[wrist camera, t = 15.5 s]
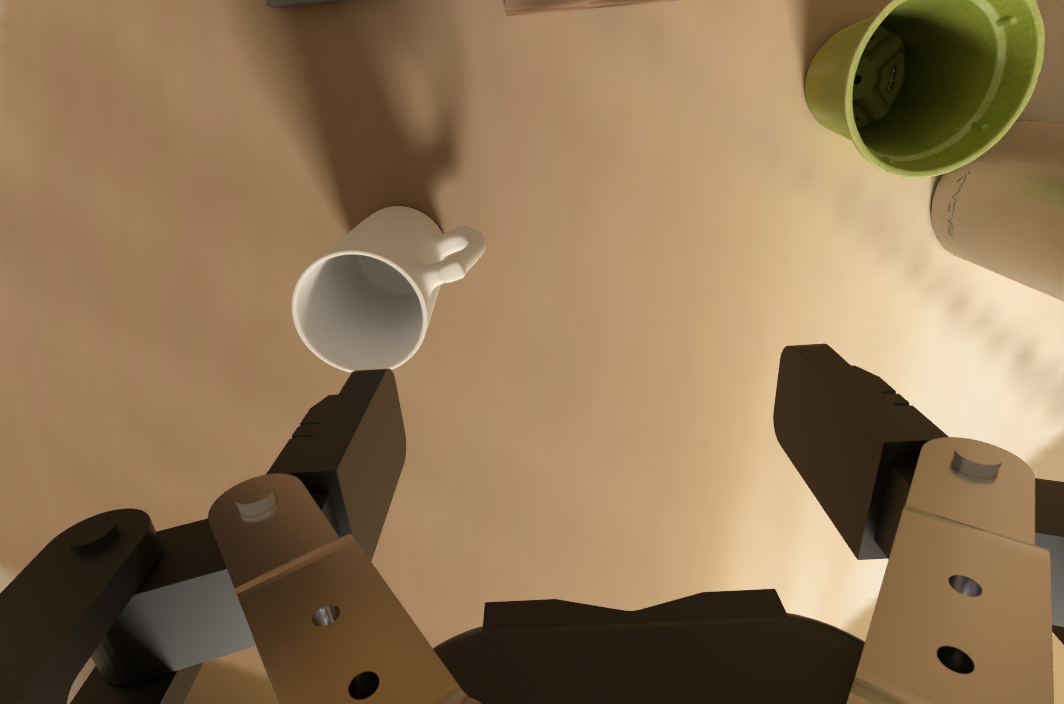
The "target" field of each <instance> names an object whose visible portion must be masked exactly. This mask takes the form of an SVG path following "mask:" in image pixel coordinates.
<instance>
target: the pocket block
mask: <svg viewBox="0 0 1064 704" xmlns="http://www.w3.org/2000/svg"><path fill="white" fill-rule="evenodd" d="M665 1H676V0H505V9H506V13H507V16H512V15H523V14H534V13H544V12H555V11H566V10H577V9H588V8H599V7H610V6H621V5H632V4H643V3H654V2H665Z"/></svg>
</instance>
